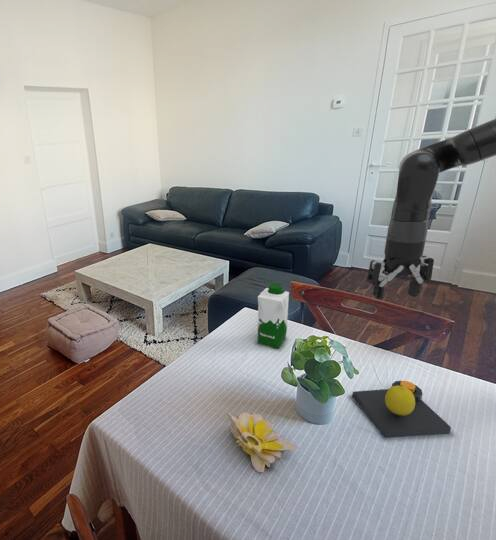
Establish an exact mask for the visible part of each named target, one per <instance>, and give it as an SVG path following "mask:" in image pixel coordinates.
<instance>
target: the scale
mask: <svg viewBox="0 0 496 540" xmlns="http://www.w3.org/2000/svg"><path fill="white" fill-rule="evenodd" d="M401 381H402V380H395V381H394V382H392V383H391V387H393V386H400V382H401ZM414 385H415V392H414V393H413V395H414V398H415V407H414V410H413V411H412V412H411V413H410V414H408V415H404V416H401V415H397V414H394V413H393V412H391V411H390V410H389V409H388V407H387V406H386V403H385V395H386V393H387V391H388V390H389V388H385V389H384V388H383V389H372V390H371V389H370V390H369V389H368V390H357V391H355V390H354V391H352V395H351V398H352V399H353V401H355V403H356V404H357V405H358V406H359V408H360V409H361V410H362V411H363V413H365V415H366V416H367V417H368V418H369V420H370V421H371V422H372V424H374V426H375V427H376V429H378V431H379V432H380V433H381V434H382V436H383V437H384V438H399V437H415V436H416V437H417V436H428V435H429V436H430V435H431V436H432V435H446V434H450V432H451V428H452V426H450V424H448V422H446V421H445V420H444V419H443V418H442V417H441V416H439V414H438V413H437V412H435V411H434V410H433V409H432V408H431V407H430V406H428V405H427V403H425V402H424V401H423V399H422V397H423V389H421V388H420V387H419V386H418V385H417V384H414Z"/></svg>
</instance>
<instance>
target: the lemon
mask: <svg viewBox="0 0 496 540" xmlns="http://www.w3.org/2000/svg"><path fill="white" fill-rule="evenodd" d="M388 389H389V390H388V391H387V393H386V395H385V403H386V406H387V407H388V409H389V410H390V411H391V412H393V413H394V414H397V415H401V416H404V415H408V414H410V413H411V412H412V411H413V410H414V407H415V398H414V395H413V393H412V392H411V391H410V390H409V389H407V388H406V387H403V386H393V387H392V386H391V387H389V388H388Z"/></svg>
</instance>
